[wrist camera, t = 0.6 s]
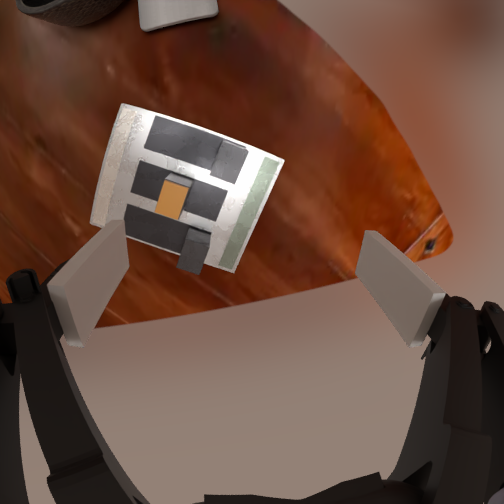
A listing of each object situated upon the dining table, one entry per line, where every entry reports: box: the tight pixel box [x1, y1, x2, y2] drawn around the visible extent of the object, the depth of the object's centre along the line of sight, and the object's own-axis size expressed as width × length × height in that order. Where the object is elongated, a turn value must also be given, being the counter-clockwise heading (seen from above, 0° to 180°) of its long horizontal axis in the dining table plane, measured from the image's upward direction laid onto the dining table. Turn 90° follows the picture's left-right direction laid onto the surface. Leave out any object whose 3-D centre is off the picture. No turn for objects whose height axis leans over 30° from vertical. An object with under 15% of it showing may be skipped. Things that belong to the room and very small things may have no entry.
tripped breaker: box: [155, 173, 194, 220], centre depth 32 cm, size 3×4×4 cm
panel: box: [90, 103, 285, 275], centre depth 33 cm, size 22×17×6 cm
